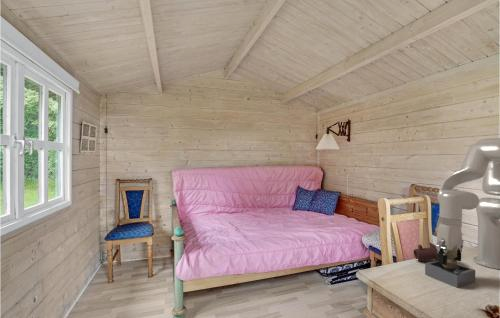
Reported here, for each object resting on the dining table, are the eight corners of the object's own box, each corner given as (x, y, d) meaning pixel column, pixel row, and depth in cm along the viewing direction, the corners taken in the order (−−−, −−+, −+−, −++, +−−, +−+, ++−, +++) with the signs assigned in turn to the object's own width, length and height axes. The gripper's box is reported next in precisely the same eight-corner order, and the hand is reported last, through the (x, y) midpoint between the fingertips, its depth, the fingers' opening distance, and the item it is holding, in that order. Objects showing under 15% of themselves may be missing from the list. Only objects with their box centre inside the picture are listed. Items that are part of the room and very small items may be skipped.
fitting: (442, 269, 118) (442, 258, 118) (475, 282, 107) (475, 269, 107) (425, 274, 114) (425, 263, 113) (457, 287, 102) (457, 275, 102)
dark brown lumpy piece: (460, 264, 121) (456, 242, 122) (420, 267, 125) (416, 247, 125) (453, 259, 127) (449, 238, 128) (415, 262, 131) (411, 242, 131)
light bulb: (461, 279, 108) (461, 243, 108) (451, 281, 107) (451, 244, 107) (447, 273, 114) (447, 239, 114) (438, 275, 112) (438, 240, 112)
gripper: (452, 217, 117) (452, 255, 117) (428, 221, 110) (427, 261, 110) (472, 221, 110) (471, 262, 110) (447, 226, 103) (446, 269, 103)
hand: (449, 262), depth 110 cm, fingers open, 9 cm apart
